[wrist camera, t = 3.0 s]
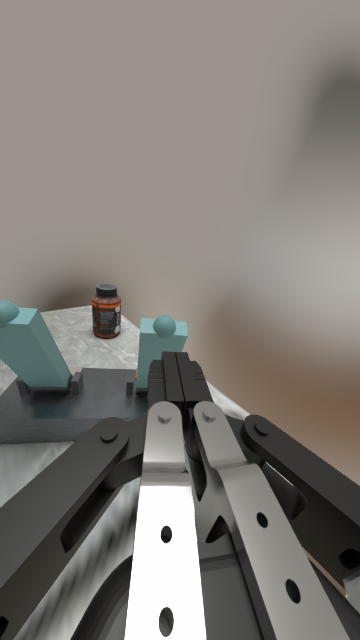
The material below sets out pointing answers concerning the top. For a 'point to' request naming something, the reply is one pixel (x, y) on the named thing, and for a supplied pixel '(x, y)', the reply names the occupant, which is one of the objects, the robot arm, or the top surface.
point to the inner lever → (31, 349)
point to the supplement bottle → (106, 311)
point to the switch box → (69, 406)
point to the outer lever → (158, 343)
